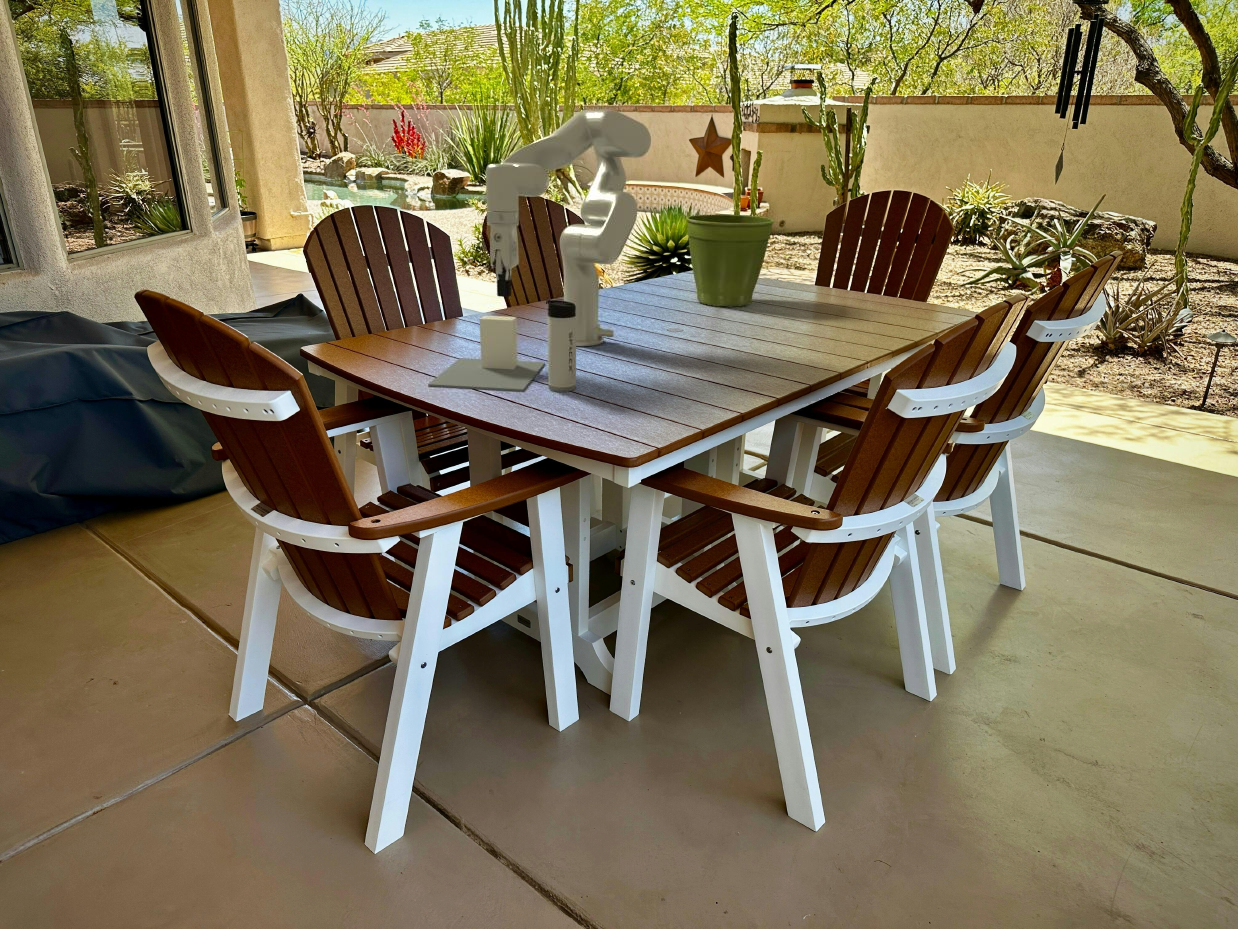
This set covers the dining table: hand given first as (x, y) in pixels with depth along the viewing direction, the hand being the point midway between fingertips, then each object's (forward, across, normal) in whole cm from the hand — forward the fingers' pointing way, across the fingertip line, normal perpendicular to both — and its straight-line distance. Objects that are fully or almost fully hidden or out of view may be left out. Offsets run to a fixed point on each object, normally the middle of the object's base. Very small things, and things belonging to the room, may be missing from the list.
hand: (504, 295), depth 200 cm
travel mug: (+17, -21, -18) cm, 33 cm away
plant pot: (+14, +93, -56) cm, 109 cm away
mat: (+17, -13, 0) cm, 21 cm away
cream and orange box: (+16, -7, 0) cm, 18 cm away
